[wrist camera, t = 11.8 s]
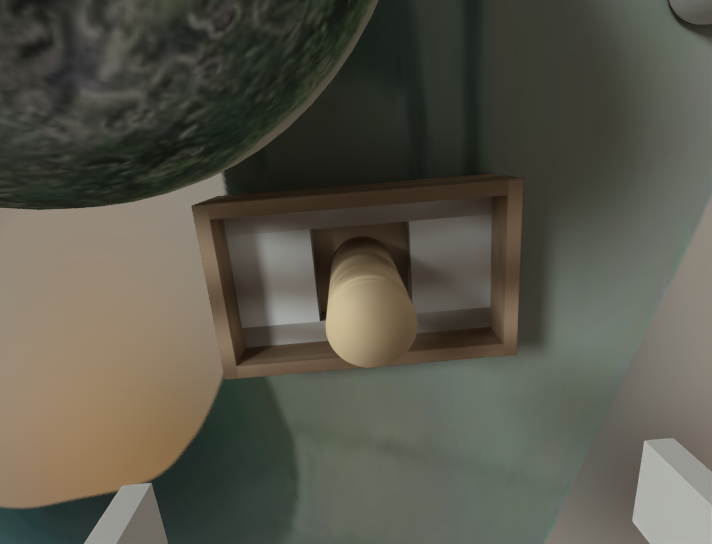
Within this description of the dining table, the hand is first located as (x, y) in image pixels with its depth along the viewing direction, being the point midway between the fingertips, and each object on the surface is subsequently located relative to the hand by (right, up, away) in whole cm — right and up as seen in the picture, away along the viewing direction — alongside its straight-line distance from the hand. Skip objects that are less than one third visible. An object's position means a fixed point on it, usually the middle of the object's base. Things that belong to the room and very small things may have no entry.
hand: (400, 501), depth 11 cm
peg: (-1, +7, +23) cm, 24 cm away
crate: (-1, +7, +24) cm, 25 cm away
